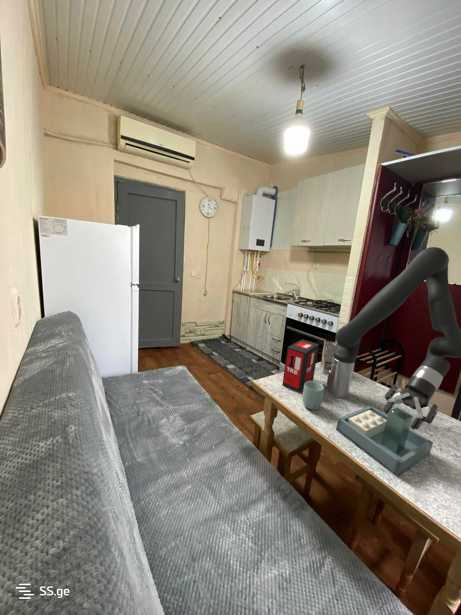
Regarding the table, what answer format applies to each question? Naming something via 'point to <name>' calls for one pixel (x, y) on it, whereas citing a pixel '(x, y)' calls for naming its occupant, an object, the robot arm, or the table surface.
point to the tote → (395, 463)
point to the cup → (312, 394)
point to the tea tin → (396, 430)
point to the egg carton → (368, 423)
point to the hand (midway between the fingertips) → (398, 420)
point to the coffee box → (328, 356)
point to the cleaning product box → (300, 364)
